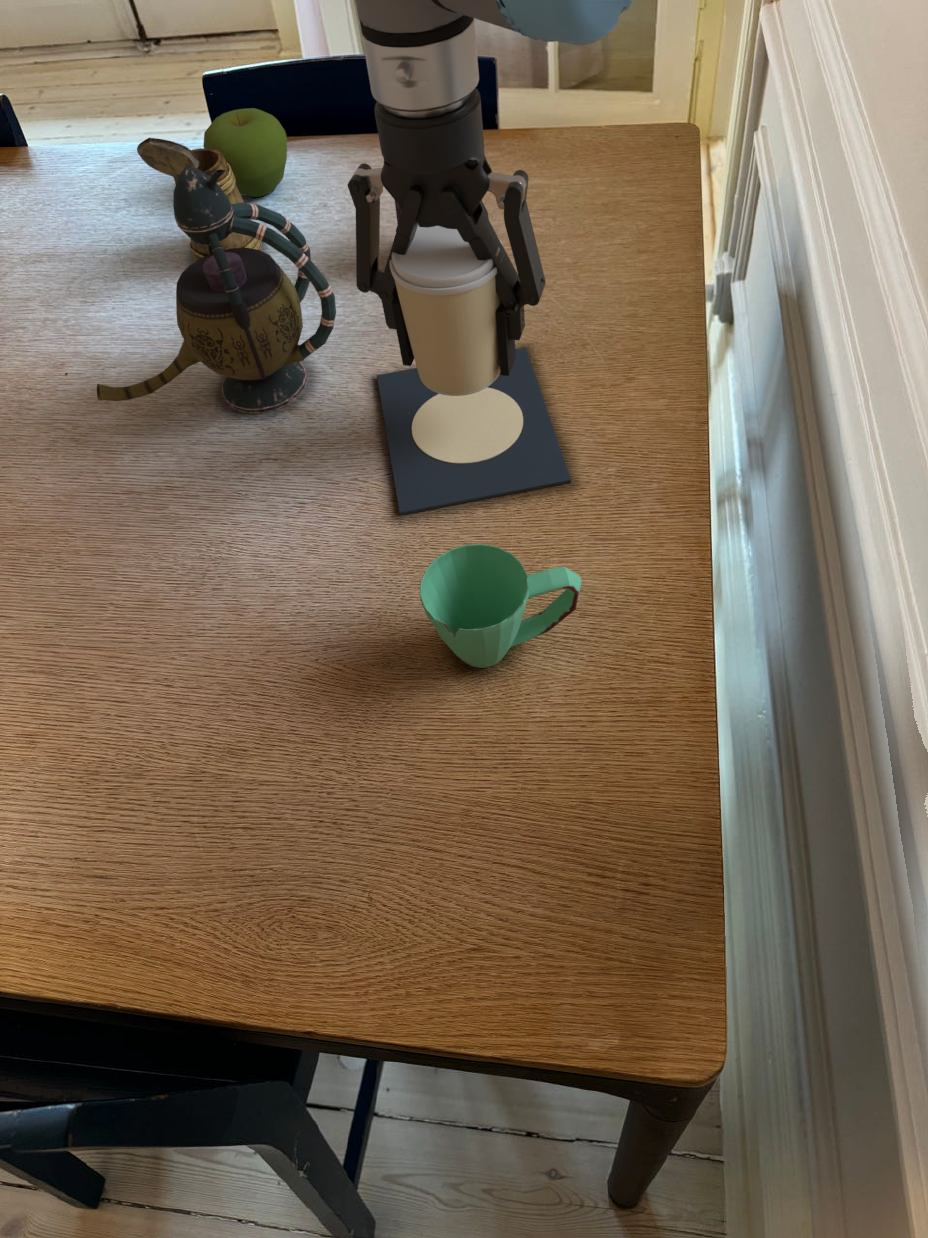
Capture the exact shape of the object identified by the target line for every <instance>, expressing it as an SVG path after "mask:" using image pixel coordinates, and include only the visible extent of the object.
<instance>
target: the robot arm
mask: <svg viewBox="0 0 928 1238" xmlns="http://www.w3.org/2000/svg"><path fill="white" fill-rule="evenodd" d="M633 2H634V0H355V6H356V11H357V18H358V21H359V25H360V32H361V33H360V34H361V38H362V45H363V50H364V57H365V62H366V69H367V75H368V80H369V87H370V91H371V95H372V98H373V99H374V100H375V101H376V102H375V104H374V111H373V112H374V117H375V123H376V130H377V134H378V140H379V144H380V145H379V146H380V147H379V148H380V153H381V156H382V158H383V165H382V167H376V168H372V167H371V165H369V164H368V163H365V162H363V163H360V164H359V166H357V168H356V170H355V171H354V173H353V174H352V176H351V177H350V179H349V181H348V183H347V189H348V191H349V194H350V197H351V200H352V203H353V205H354V209H355V266H356V267H355V269H356V270H355V271H356V277H355V279H356V281H355V283H356V284H355V285H356V288H357V289H358V291H359V292H361V293H365V294H366V293H368V292H371V293H374V294H376V295H377V296H378V298H379V299H380V300H381V305H382V310H383V315H384V320H385V325H386V326H387V328H388V329H389V330H396V335H397V339H398V345H399V346H398V347H399V351H400V357H401V363H402V366H406V367H412V364H413V362H414V361H415V359H414V355H413V351H412V347H411V344H410V340H409V336H408V332H407V328H406V324H405V320H404V316H403V312H402V308H401V304H400V300H399V296H398V292H397V288H396V284H395V279H394V277H393V276H392V273H391V269H390V260H392V253H393V252H394V253H397V254H399V255H405V254H406V252H407V250H408V248H409V246H410V244H411V242H412V241H413V239H414V236H415V233H416V230H417V227H418V224H419V227H427V228H429V227H434V226H441V227H444V228H447V229H457V231H458V232H459V234H460V236H461V238H462V239H463V241H464V242H468V243H469V245H470V247H471V248H472V250H473V252H474V254H475V256H476V257H477V259H478V260H484V261H485V260H488V259H492V261H493V268H494V267H496V268H497V274H496V275H495V284H496V293H497V294H498V296H499V298H500V300H501V301H502V302H501V304H500V306H499V307H498V309H497V310H496V322H497V335H498V348H499V361H500V374H501V375H504V376H509V374H510V371H511V369H512V366H513V363H514V360H515V358H516V351H515V349H516V341H520V339H521V337H522V335H523V332H524V329H525V327H526V319H525V318H526V317H525V316H526V315H525V314H526V313H525V306H526V305H528V306H530V307H535V306H537V305H539V304H540V301H541V297H542V295H543V292H544V289H545V286H546V284H547V283H546V277H545V272H544V269H543V264H542V262H541V257H540V253H539V248H538V244H537V240H536V236H535V231H534V229H533V228H534V227H533V224H532V218H531V215H530V211H529V206H528V202H527V196H528V187H529V175H528V173H527V172H526V171H525V170H523V169H517V170H515V171H514V173H513V175H510V174H505V173H499V172H495V171H493V169H492V167H491V165H490V164H489V162H488V160H487V158H486V154H485V139H484V127H483V125H484V124H483V113H482V112H483V111H482V101H481V93H480V91H479V90H478V88H476V87H478V84H479V81H480V72H479V62H478V61H479V59H478V48H477V36H476V25H475V20H477V21H478V20H479V21H482V22H484V23H488V24H491V25H494V26H498V27H500V28H504V29H506V30H510V31H513V32H514V33H519V34H520V35H521V36H523V37H528V38H529V39H531V40H534V41H539V40H541V41H542V42H546V43H553V42H557V43H564V44H569V45H575V46H588V45H592V44H595V43H597V42H599V41H601V40H602V39H604V38H606V37H608V35H609V34H611V33H612V31H614V30H615V29H616V28H617V26H618V23H619V19H620V16H621V14H622V13H623V12H625V11H628V10H629V8H630V7H631V5H632V4H633ZM384 189H385V190H386V192H387V193H388V194H389V195H390V196H391V197H392V199H394V202H395V201H396V202H397V203H398V204H399V206H400V207H401V208H402V212H401V215H400V218H399V222H398V224H397V225H396V229H395V234H394V238H393V240H392V244H391V247H390V251H389V253H388V257H387V260H386V263H385V267H384V270H383V271H381V270H380V234H381V233H380V229H381V227H380V225H381V224H380V223H381V222H380V221H381V220H380V219H381V196H382V194H383V192H384ZM488 192H490V193H492V195H494V197H495V201H496V204H497V207H498V209H499V210H503V222H504V226H505V230H506V234H507V239H508V242H509V245H510V248H511V252H512V253H511V254H512V257H513V260H514V264H515V266H514V264H513V263H512V260H511V259H510V257H509V255H508V253H507V250H505V248H504V245H503V243H502V244H501V242H502V241H501V239H500V237H499V235H498V234H497V233H496V231H495V229H494V227H493V225H492V224H491V221H490V218H489V212H488V209H487V207H486V206H485V204H484V201H483V199H484V197H485V196H486V194H487V193H488ZM499 239H500V240H499ZM500 241H501V242H500ZM498 248H500V251H499V254H498V256H497V257H496V252H497V249H498ZM502 257H503V260H502V262H501V263H500V261H501V259H502ZM515 267H516V268H515Z"/></svg>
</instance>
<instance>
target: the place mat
mask: <svg viewBox="0 0 928 1238" xmlns="http://www.w3.org/2000/svg"><path fill="white" fill-rule="evenodd" d="M515 351H516V358H515V360H514V363H513V366H512V369H511V371H510V374H509V376H504V375H501V374H499V376H498V377H497V379H496V380H495V381H494V382H493V383H492V384H491V385H490V386H488V387H487V388H485V389H483V390H481V391H479V392H476V393H473V394H469V395H463V396H448V395H442V394H439V393H436V392H434V391H432V390H430V389H429V388H427V387H426V386H425V385H424V384H423V382H422V381H421V379H420V376H419V373H418V370H417V367H414V368H408V369H403V370H397V371H393V372H388V373H381V374H377V375H376V380H377V385H378V392H379V398H380V404H381V409H382V416H383V422H384V427H385V434H386V440H387V446H388V453H389V458H390V459H389V460H390V463H391V470H392V477H393V483H394V488H395V489H394V490H395V494H396V499H397V500H396V501H397V506H398V512H399V516H404V515H409V514H414V513H421V512H425V511H430V510H435V509H440V508H441V509H442V508H445V507H452V506H456V505H461V504H467V503H473V502H477V501H482V500H487V499H493V498H497V497H502V496H503V497H504V496H508V495H513V494H519V493H524V492H529V491H534V490H540V489H544V488H549V487H550V488H551V487H554V486H555V487H556V486H560V485H565V484H571V483H572V478H571V476H570V473H569V469H568V467H567V464H566V461H565V458H564V454H563V452H562V449H561V445H560V443H559V440H558V437H557V435H556V431H555V429H554V426H553V422H552V420H551V417H550V413H549V411H548V407H547V405H546V402H545V399H544V396H543V393H542V391H541V387H540V384H539V382H538V378H537V375H536V373H535V370H534V366H533V363H532V362H531V358H530V355H529V352H528V349H527V347H526V346H525V347H519V348H515Z"/></svg>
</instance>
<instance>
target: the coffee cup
mask: <svg viewBox="0 0 928 1238" xmlns="http://www.w3.org/2000/svg"><path fill="white" fill-rule="evenodd" d="M499 240H500V242H501V244H502V245H503V242H502V241H501V239H500V238H499ZM499 251H500V248H498V249H497V252H496V257H497V256H498V254H499ZM502 260H503V257H502V259H501V261H500V263H501V262H502ZM390 269H391V273H392V276H393V277H394V279H395V284H396V288H397V292H398V296H399V300H400V304H401V308H402V312H403V316H404V320H405V324H406V328H407V332H408V336H409V340H410V344H411V347H412V351H413V355H414V362H415V366H416V368H417V370H418V373H419V376H420V379H421V381H422V382H423V384H424V385H425V386H426V387H427V388H429V389H430V390H432V391H434V392H436V393H439V394H442V395H448V396H463V395H469V394H473V393H476V392H479V391H481V390H483V389H485V388H487V387H488V386H490V385H491V384H492V383H493V382H494V381H495V380H496V379H497V377H498V376H499V374H500V361H499V348H498V335H497V322H496V310H497V309H498V307H499V306H500V304H501V302H502V301H501V300H500V298H499V296H498V294H497V293H496V284H495V275H496V274H497V268H496V267H494V268H493V261H492V259H488V260H485V261H484V260H478V259H477V257H476V256H475V254H474V252H473V250H472V248H471V247H470V245H469V243H468V242H464V241H463V239H462V238H461V236H460V234H459V232H458V231H457V229H447V228H444V227H441V226H434V227H429V228H427V227H419V225H418V227H417V230H416V233H415V236H414V239H413V241H412V242H411V244H410V246H409V248H408V250H407V252H406V254H405V255H399V254H397V253H394V252H393V253H392V260H390Z"/></svg>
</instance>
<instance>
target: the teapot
mask: <svg viewBox="0 0 928 1238" xmlns="http://www.w3.org/2000/svg"><path fill="white" fill-rule="evenodd" d="M223 173H225V170H222V169H221V170H216V171H215V172H214V173H213V175H212V176H211V177H209V176H208V175H206V174H205V173H204V172H202V171H201V170H199V169H196V168H193V167H190V166H188V165H186V167H185V168H184V169H183V171H182V172H181V174H180V175H179V177H178V180H177V183H176V186H175V185H174V186H175V187H174V190H173V195H172V196H173V199H172V201H173V202H172V206H173V207H172V209H173V215H174V216H173V217H174V220H175V222H176V225H177V228H178V229H180V230H181V231H182V232H183V233H184V234H185V235H186V236H187V237H188V238H189V239H190V238H191V239H192V240H193V241H194V242H195V243H197V244H199V245H208V246H209V247H208V248H209V251H210V255H207V256H204V257H202V258H200V259H198V260H197V261H195V262H194V261H193V262H192V263H190V264H189V265H188V266H187V267H186V268H185V269H184V270H183V271H182V272H181V273H180V276H179V277H178V279H177V281H176V287H175V288H176V290H175V293H176V294H175V298H176V299H175V302H176V303H175V308H176V310H175V311H176V313H175V314H176V323H177V327H178V329H179V332H180V335H181V337H182V338H183V341H182V343H181V346H180V349H179V351H178V354H177V356H175V358H174V359H173V361H172V362H171V363H170V364H169V365H168V366H167V367H165V369H164V370H162V371H161V372H159V373H158V374H156V375H154V376H152V377H149V378H148V379H144V380H143V381H140V382H138V383H134V384H131V385H130V384H129V385H127V386H116V387H115V386H110V385H106V384H102V383H97V384H96V399H97V400H98V401H101V402H104V401H105V402H123V401H124V402H125V401H131V400H135V399H139V398H142V397H145V396H148V395H151V394H153V393H155V392H157V391H158V390H159V389H161V388H163V387H165V386H166V385H168V384H169V383H170V382H172V381H173V380H175V378H177V377H178V376H179V375H181V373H183V372H184V371H186V370H187V369H188V368H191V367H192V366H194V365H196V364H198V363H201V364H202V365H204V366H205V367H206V368H208V369H209V370H211V371H212V372H214V373H216V374H217V375H219V376H222V377H225V378H224V380H223V382H222V385H221V389H222V390H221V391H222V397H223V399H224V400H225V401H226V403H227V405H228V406H229V407H231V408H232V409H234V410H236V411H238V412H241V413H246V414H265V413H269V412H273V411H274V412H275V411H277V410H279V409H281V408H283V407H286V406H288V405H289V404H291V403H292V402H294V401H295V400H296V399H297V398H299V397H300V396H301V393H303V391H304V390H305V388H306V385H307V382H308V376H307V371H306V367H304V365H303V364H302V362H303V361H305V359H306V358H308V357H309V356H310V355H312V354H313V353H315V352H316V351H317V350H319V349H320V348H321V347H323V346H324V345H325V344H326V343H327V341H328V339H329V337H330V335H331V334H332V332H333V330H334V327H335V322H336V315H337V306H336V295H335V294H334V292H333V289H332V287H331V286H330V284H329V281H328V280H327V278H326V277H325V275H323V273H322V271H321V270H320V269H319V268H318V267H317V265H316V264H315V263H314V262H313V261H312V257H311V256H312V255H311V248H310V246H309V244H308V242H307V239H306V236H305V235H304V234H303V233H302V232H301V231H300V230H299V228H298V227H296V225H295V224H293V223H292V221H290V220H289V219H288V218H286V217H285V216H284V215H283V214H281V213H280V212H277V211H274V210H272V209H270V208H267V207H265V206H263V205H259V204H256V203H249V202H244V203H235V204H231V203H230V201H229V199H228V197H227V196H226V194H225V193H224V191H223V190H222V189H221V188H220V186H219V185H218V184H217V180H218V178H219V177H220V176H221V175H222V174H223ZM248 219H251V220H248ZM257 221H259V222H262V223H265V224H267V225H268V226H269V225H270V226H272V227H273V228H275V229H276V230H277V231H278V232H277V231H276V230H274V229H273V228H270V227H268V226H266V225H264V224H262V223H259V222H257ZM233 232H234V233H239V234H243V235H247V236H251V237H253V238H255V239H258V240H260V241H262V243H264V244H267V245H268V246H270V247H271V248H272V249H274V250H276V251H277V252H278V253H280V254H281V255H283V256H285V257H286V258H287V259H288V260H289V261H290V262H292V264H293V265H294V266H295V267H296V268H297V277H296V280H295V283H293V282H292V280H291V279H290V277H288V275H287V274H286V272H285V271H284V270H283V269H282V267H280V265H279V264H278V262H276V261H275V259H274V258H273V257H272V256H271V255H270V254H269V253H267V252H265V251H262V250H261V251H260V250H256V249H251V248H231V249H227V250H224V249H223V248H222V246H221V244H220V242H221V241H223V240H224V239H226V238H227V237H228V235H229V234H231V233H233ZM279 232H280V233H281V234H282V235H281V234H280V233H279ZM191 239H190V240H191ZM310 284H311V285H312V286H313V287H314V289H315V291H316V294H317V295H318V297H319V299H320V307H321V315H320V320H319V326H318V327H317V329H316V331H315V333H314V334H313V335H311V336H310V337H309V338H308V339H306V340H305V341H304V342H302V343H301V344H300V345H299V342H300V339H301V335H302V331H303V328H304V323H303V313H302V308H301V307H302V306H301V303H302V301H304V299H305V297H306V294H307V291H308V289H309V285H310Z"/></svg>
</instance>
